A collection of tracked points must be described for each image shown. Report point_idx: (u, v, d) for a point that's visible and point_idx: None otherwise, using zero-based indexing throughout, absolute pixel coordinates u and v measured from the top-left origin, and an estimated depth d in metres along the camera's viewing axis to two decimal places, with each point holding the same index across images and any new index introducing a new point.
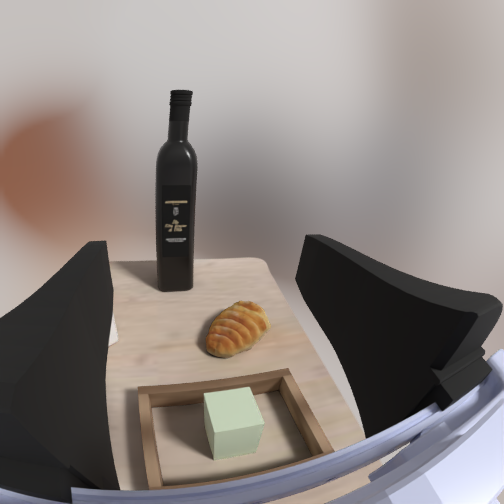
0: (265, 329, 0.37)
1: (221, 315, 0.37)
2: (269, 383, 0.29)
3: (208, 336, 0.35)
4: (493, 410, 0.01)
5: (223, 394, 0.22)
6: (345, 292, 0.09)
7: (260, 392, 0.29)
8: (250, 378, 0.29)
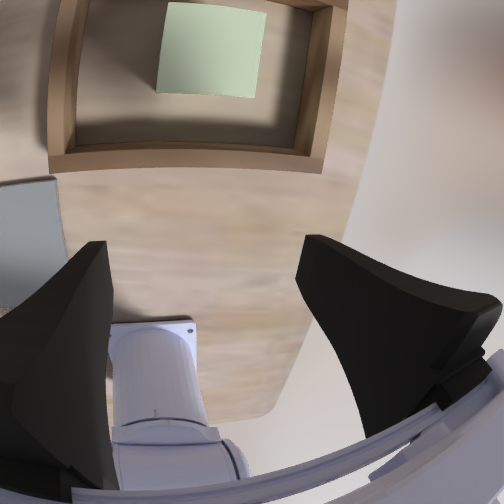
0: None
1: None
2: (305, 1, 0.12)
3: None
4: (493, 410, 0.01)
5: (207, 12, 0.08)
6: (344, 292, 0.09)
7: (284, 2, 0.13)
8: None
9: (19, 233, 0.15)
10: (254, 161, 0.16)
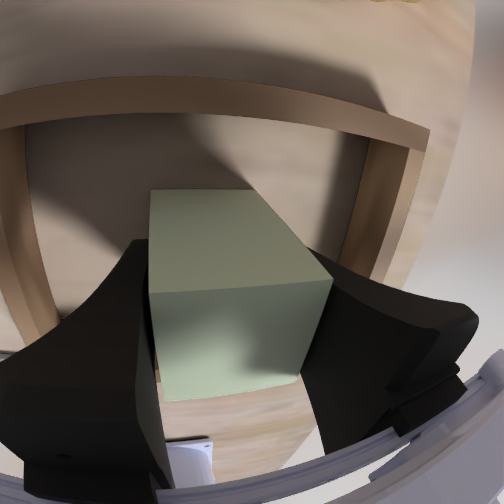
0: None
1: None
2: None
3: None
4: (493, 410, 0.01)
5: (228, 304, 0.06)
6: None
7: None
8: (341, 112, 0.08)
9: None
10: None
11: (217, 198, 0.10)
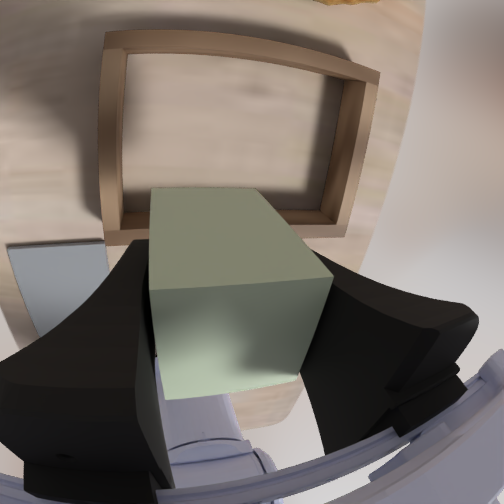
0: None
1: None
2: (341, 75, 0.15)
3: None
4: (493, 410, 0.01)
5: (228, 301, 0.06)
6: None
7: (319, 72, 0.16)
8: (320, 58, 0.13)
9: (68, 287, 0.18)
10: None
11: (217, 196, 0.10)
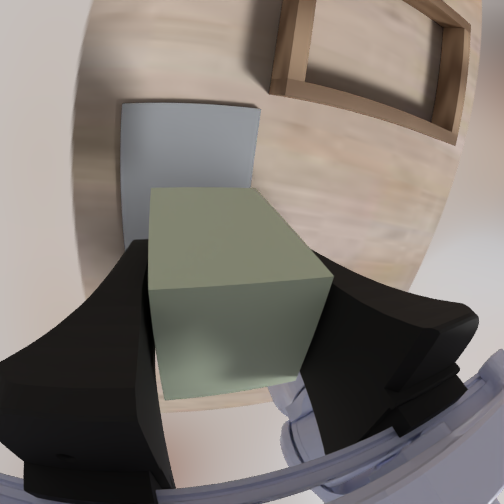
0: None
1: None
2: (448, 20, 0.13)
3: None
4: (493, 410, 0.01)
5: (228, 301, 0.06)
6: None
7: (430, 16, 0.14)
8: (440, 3, 0.12)
9: (197, 161, 0.17)
10: (426, 128, 0.17)
11: (217, 196, 0.10)
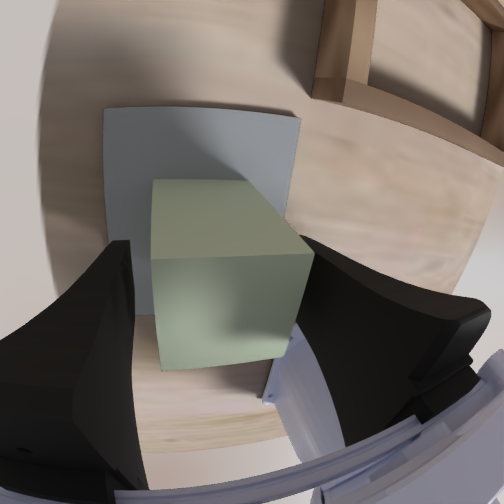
0: None
1: None
2: (501, 24, 0.09)
3: None
4: (493, 410, 0.01)
5: (220, 271, 0.07)
6: (323, 295, 0.09)
7: (482, 16, 0.10)
8: (497, 3, 0.07)
9: None
10: (485, 149, 0.13)
11: (213, 187, 0.11)
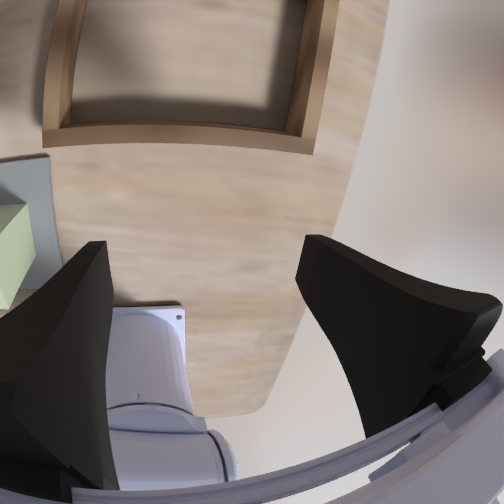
0: None
1: None
2: None
3: None
4: (493, 410, 0.01)
5: None
6: (344, 292, 0.09)
7: None
8: None
9: None
10: (245, 139, 0.16)
11: (2, 210, 0.14)
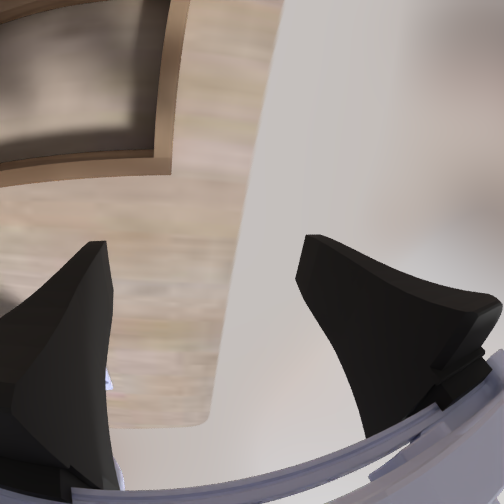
0: None
1: None
2: None
3: None
4: (493, 410, 0.01)
5: None
6: (345, 292, 0.09)
7: None
8: None
9: None
10: (93, 170, 0.14)
11: None
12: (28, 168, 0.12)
